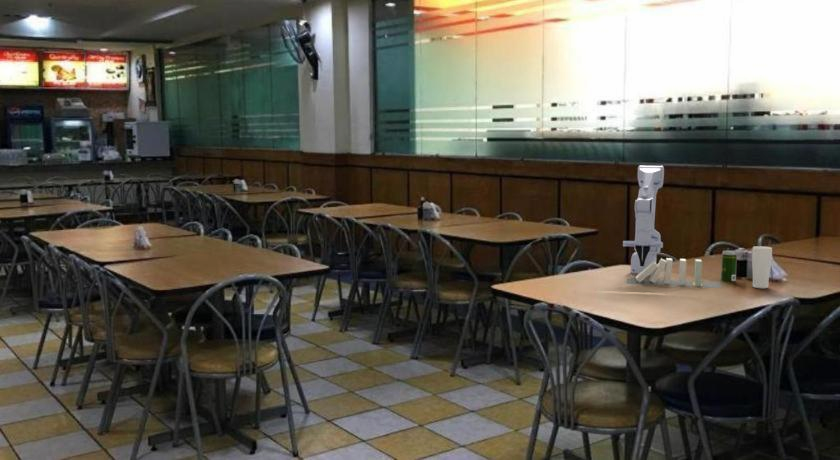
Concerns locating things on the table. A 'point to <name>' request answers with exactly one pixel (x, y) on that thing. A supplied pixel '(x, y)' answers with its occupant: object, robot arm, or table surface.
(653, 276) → the domino
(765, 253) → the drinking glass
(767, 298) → the table surface
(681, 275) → the domino
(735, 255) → the beer can
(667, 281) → the domino
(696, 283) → the domino
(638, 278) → the domino
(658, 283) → the domino mat
